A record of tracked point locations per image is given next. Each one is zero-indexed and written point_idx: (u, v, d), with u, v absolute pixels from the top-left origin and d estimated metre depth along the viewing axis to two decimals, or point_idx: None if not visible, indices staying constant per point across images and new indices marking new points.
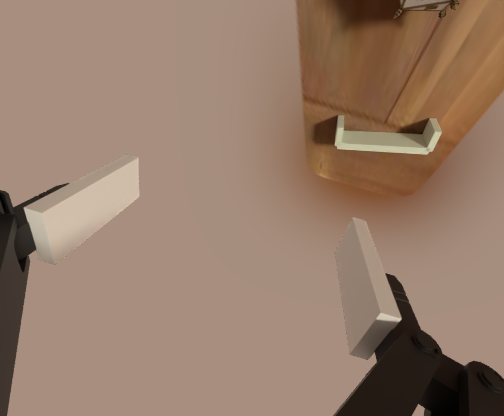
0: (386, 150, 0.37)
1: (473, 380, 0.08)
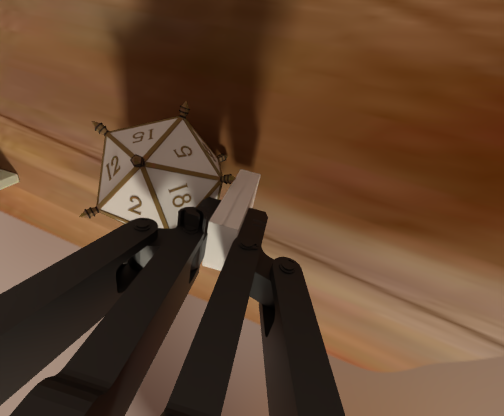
0: None
1: (277, 273, 0.10)
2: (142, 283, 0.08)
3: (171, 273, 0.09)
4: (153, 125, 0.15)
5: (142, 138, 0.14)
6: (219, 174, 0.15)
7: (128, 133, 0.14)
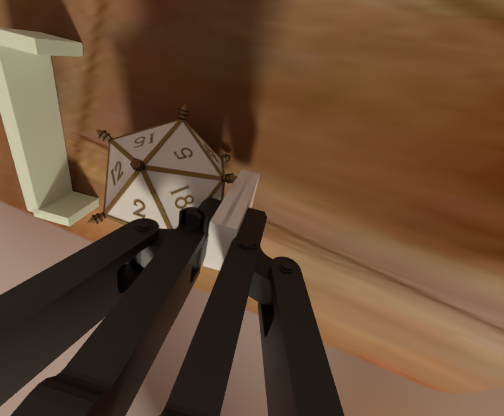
0: (13, 147, 0.18)
1: (276, 273, 0.10)
2: (143, 283, 0.08)
3: (172, 273, 0.09)
4: (154, 129, 0.15)
5: (143, 142, 0.14)
6: (221, 174, 0.15)
7: (130, 139, 0.15)
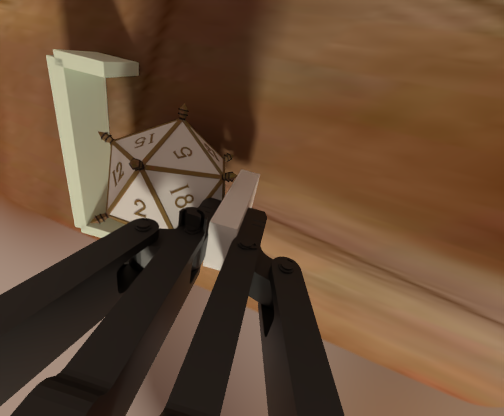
0: (67, 166, 0.18)
1: (276, 273, 0.10)
2: (143, 283, 0.08)
3: (172, 273, 0.09)
4: (154, 130, 0.15)
5: (143, 143, 0.14)
6: (220, 172, 0.14)
7: (131, 139, 0.15)
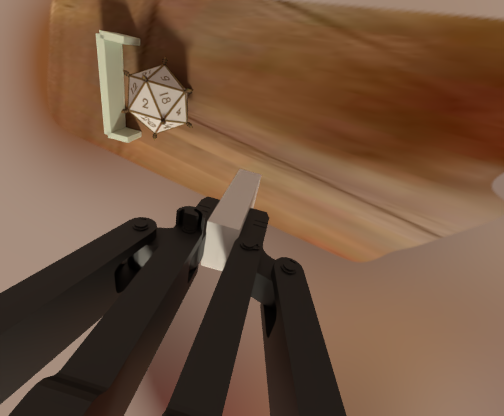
0: (102, 94, 0.34)
1: (278, 274, 0.10)
2: (141, 283, 0.08)
3: (170, 272, 0.09)
4: (150, 69, 0.31)
5: (146, 73, 0.30)
6: (183, 89, 0.30)
7: (139, 73, 0.30)
